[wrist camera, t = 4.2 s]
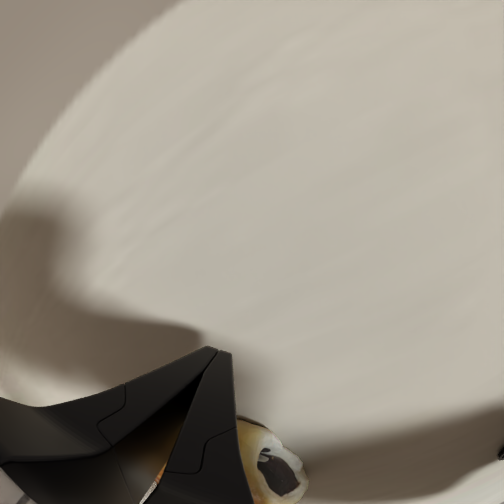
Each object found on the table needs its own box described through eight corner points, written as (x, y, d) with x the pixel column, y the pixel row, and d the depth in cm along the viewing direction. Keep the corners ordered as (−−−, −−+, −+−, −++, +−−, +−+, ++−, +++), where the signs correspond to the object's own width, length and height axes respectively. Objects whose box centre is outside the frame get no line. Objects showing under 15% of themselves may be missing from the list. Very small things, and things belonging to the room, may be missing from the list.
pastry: (194, 483, 15) (174, 523, 11) (128, 422, 14) (96, 463, 11) (321, 470, 12) (313, 527, 8) (256, 396, 11) (230, 466, 8)
